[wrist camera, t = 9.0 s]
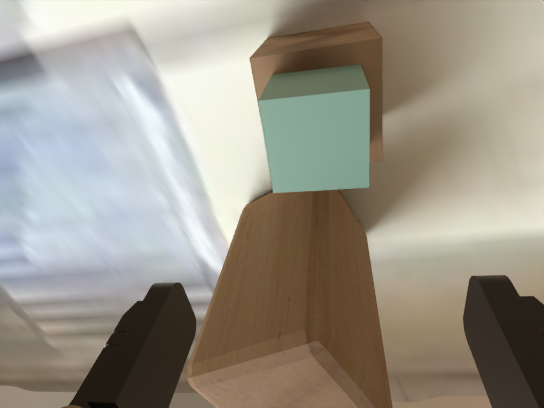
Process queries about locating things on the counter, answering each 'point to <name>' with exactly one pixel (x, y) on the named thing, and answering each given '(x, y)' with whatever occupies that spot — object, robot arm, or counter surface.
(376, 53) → the walnut block
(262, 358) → the block
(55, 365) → the counter surface
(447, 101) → the counter surface
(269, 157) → the teal cube
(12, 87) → the counter surface
